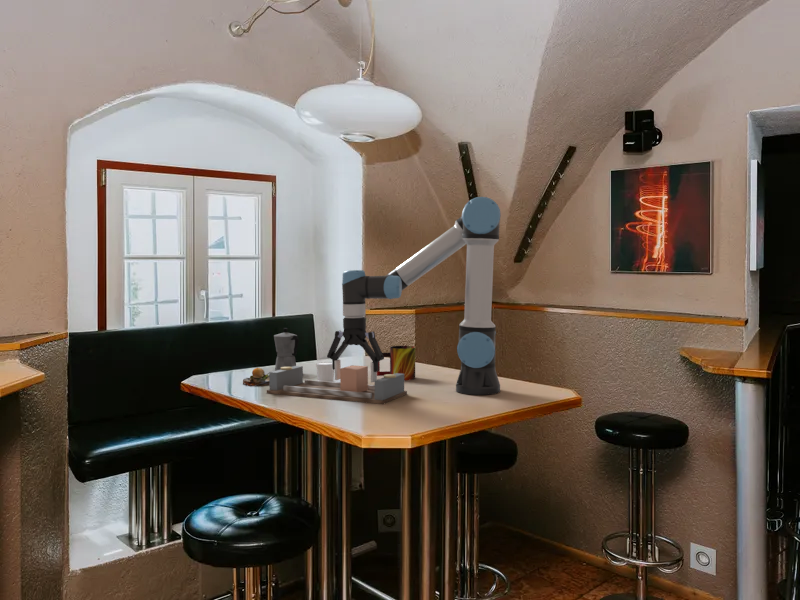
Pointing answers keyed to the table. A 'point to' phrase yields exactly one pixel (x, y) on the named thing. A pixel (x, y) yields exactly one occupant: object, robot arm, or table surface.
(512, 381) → the table surface
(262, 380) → the burger
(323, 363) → the white cup
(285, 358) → the coffeepot
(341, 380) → the salmon pink box
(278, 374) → the knobbed grey end panels
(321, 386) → the rail track
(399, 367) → the mug
